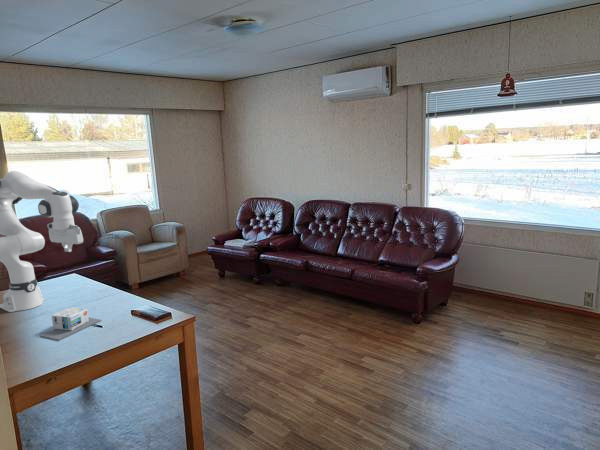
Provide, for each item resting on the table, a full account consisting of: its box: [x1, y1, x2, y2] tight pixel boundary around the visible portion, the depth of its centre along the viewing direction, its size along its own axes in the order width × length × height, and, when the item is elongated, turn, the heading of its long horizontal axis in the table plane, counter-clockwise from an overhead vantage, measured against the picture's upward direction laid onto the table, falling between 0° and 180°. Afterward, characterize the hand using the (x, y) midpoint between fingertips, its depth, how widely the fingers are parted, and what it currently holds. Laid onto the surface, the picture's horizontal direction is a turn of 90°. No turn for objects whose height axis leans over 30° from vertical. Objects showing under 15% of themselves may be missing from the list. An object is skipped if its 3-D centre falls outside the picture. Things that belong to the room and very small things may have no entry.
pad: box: [40, 316, 102, 342], centre depth 194 cm, size 12×22×1 cm, turn 156°
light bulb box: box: [51, 307, 89, 331], centre depth 195 cm, size 11×7×11 cm
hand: (68, 251), depth 211 cm, fingers closed
